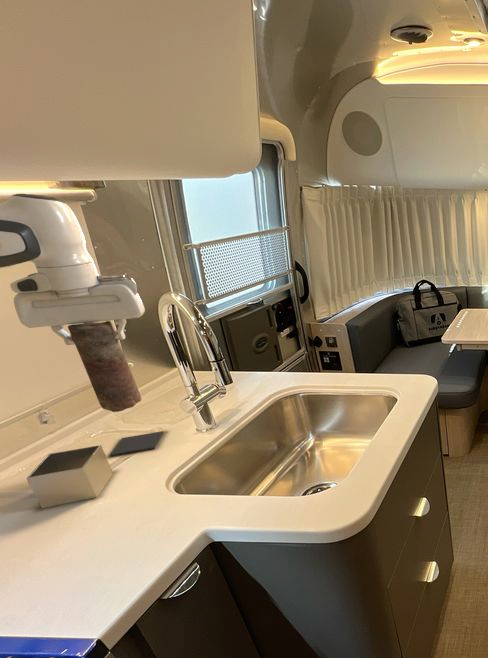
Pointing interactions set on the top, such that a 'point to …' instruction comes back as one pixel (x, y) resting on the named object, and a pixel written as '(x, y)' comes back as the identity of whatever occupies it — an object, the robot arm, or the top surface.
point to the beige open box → (70, 476)
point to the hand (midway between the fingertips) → (96, 341)
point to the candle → (105, 365)
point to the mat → (137, 443)
